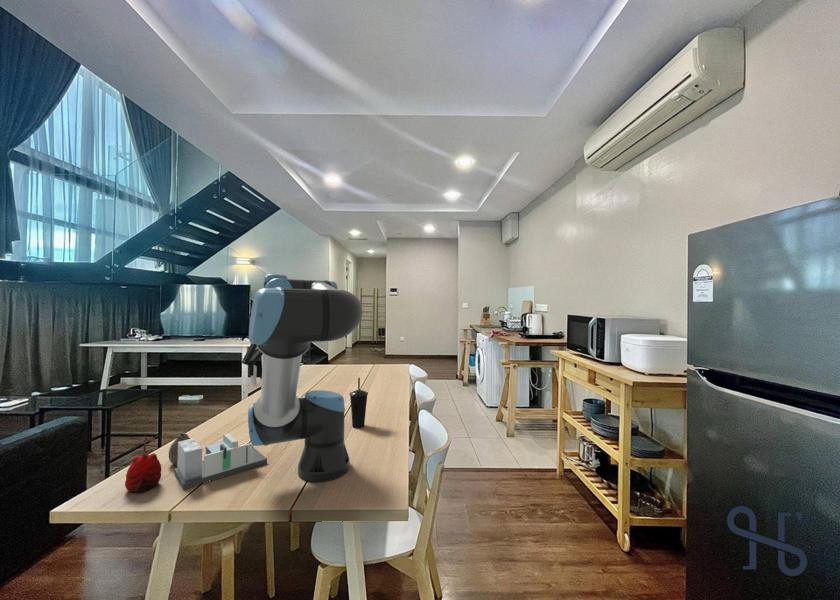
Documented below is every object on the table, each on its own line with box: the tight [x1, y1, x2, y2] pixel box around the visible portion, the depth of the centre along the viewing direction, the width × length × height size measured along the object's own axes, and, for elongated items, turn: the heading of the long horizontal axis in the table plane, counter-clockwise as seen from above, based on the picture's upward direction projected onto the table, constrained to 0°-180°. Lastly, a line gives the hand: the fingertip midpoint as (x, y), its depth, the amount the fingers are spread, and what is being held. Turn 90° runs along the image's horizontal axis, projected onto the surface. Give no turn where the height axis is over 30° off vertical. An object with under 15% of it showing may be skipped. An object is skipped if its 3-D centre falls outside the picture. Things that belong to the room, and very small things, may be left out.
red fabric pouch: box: [124, 434, 162, 494], centre depth 92 cm, size 8×7×15 cm
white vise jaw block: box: [176, 437, 203, 482], centre depth 97 cm, size 10×4×8 cm, turn 45°
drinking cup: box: [348, 377, 369, 429], centre depth 140 cm, size 8×8×20 cm
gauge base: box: [174, 442, 268, 490], centre depth 103 cm, size 12×22×8 cm, turn 135°
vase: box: [168, 433, 192, 466], centre depth 106 cm, size 7×7×9 cm
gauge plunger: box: [205, 432, 239, 459], centre depth 102 cm, size 12×7×7 cm, turn 45°
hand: (274, 382), depth 115 cm, fingers open, 13 cm apart
